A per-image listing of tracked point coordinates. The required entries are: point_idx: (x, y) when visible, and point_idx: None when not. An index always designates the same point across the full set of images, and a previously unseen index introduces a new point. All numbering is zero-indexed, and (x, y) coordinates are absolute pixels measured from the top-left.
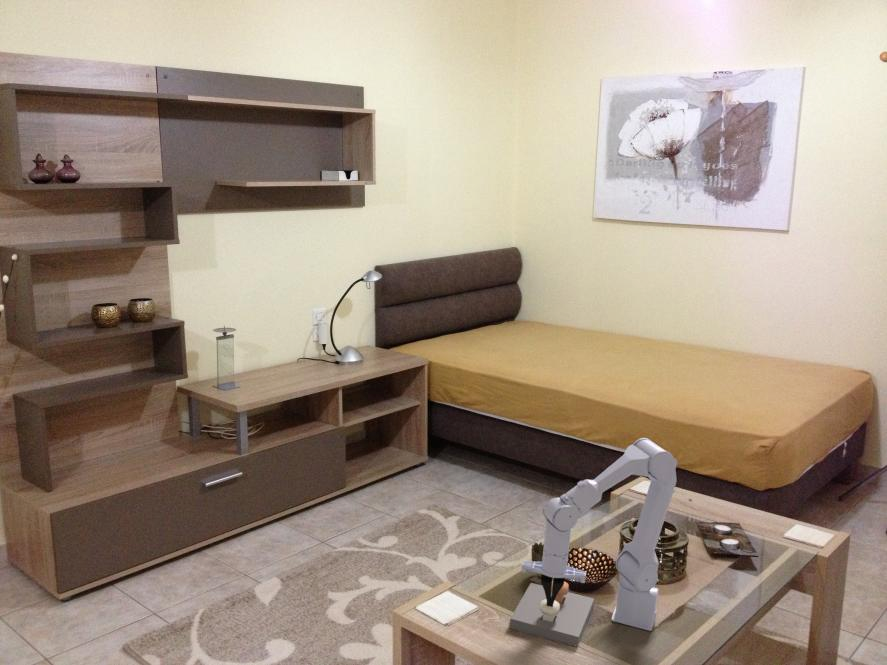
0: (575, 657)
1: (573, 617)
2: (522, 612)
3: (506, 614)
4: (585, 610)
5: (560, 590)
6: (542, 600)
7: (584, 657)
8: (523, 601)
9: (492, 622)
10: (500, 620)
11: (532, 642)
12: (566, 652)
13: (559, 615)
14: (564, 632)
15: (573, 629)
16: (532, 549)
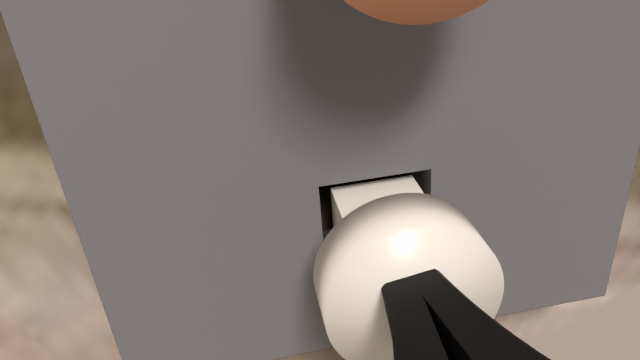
0: (560, 327)
1: (557, 108)
2: (165, 281)
3: (18, 212)
4: None
5: (465, 10)
6: (328, 297)
7: (603, 303)
8: (77, 136)
9: (5, 341)
10: (34, 295)
11: (322, 354)
12: (512, 321)
13: (446, 150)
14: (515, 306)
15: (568, 247)
16: None
